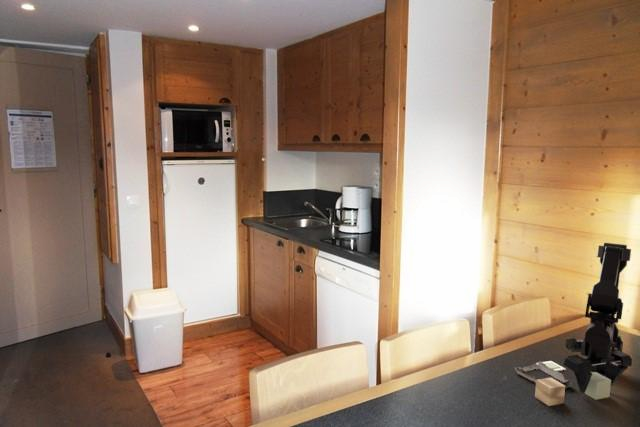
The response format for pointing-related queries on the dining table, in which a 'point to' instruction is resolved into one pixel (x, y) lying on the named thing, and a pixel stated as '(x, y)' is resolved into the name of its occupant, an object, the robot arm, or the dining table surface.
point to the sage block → (598, 386)
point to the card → (553, 366)
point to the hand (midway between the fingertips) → (595, 390)
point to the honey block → (550, 391)
